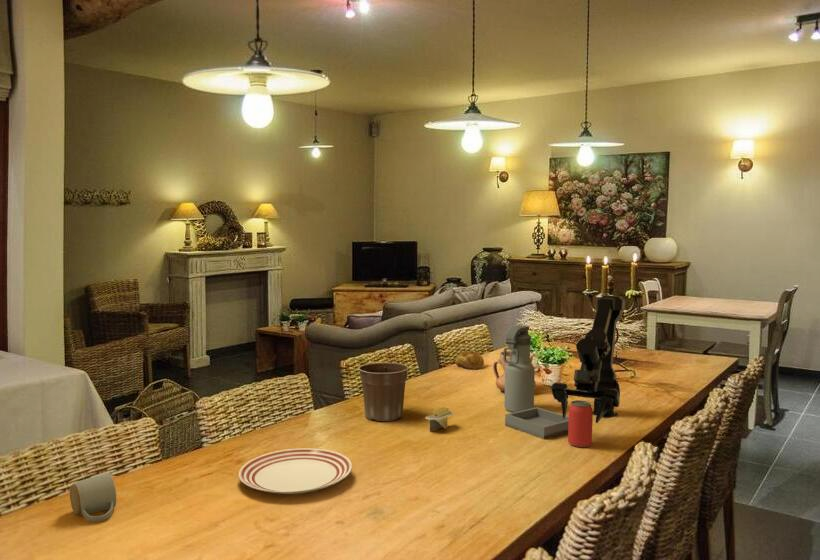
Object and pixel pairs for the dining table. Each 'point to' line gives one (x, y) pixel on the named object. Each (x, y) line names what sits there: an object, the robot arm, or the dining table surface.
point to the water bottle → (519, 371)
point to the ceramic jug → (501, 380)
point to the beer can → (580, 424)
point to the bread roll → (470, 360)
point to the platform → (439, 418)
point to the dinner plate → (295, 470)
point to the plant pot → (383, 390)
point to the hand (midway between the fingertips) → (579, 420)
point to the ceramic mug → (93, 497)
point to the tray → (538, 422)
